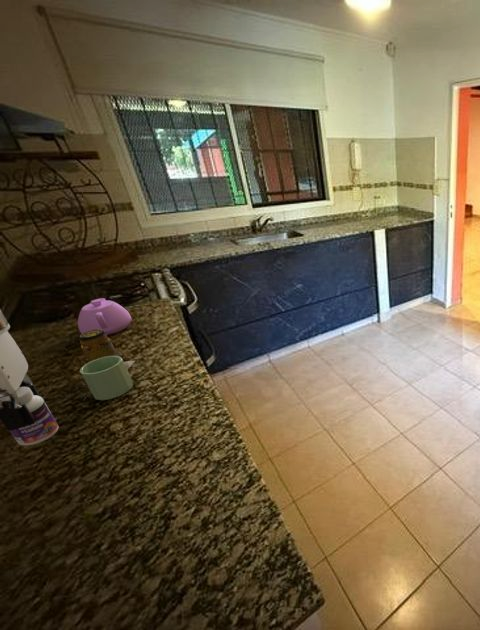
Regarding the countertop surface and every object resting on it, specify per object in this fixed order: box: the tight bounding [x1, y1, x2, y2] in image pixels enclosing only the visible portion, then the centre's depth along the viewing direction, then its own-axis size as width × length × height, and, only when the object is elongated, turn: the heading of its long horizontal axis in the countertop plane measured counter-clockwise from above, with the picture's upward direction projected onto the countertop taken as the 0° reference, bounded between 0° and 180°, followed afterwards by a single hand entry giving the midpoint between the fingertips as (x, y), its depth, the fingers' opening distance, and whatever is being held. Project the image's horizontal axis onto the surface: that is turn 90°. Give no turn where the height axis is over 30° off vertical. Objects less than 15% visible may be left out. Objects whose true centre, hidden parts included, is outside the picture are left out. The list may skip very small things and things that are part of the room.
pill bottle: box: [0, 387, 60, 446], centre depth 61 cm, size 5×5×10 cm
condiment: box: [78, 329, 136, 370], centre depth 94 cm, size 7×8×12 cm
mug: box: [79, 355, 134, 401], centre depth 87 cm, size 8×8×8 cm
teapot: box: [77, 297, 132, 336], centre depth 117 cm, size 14×20×11 cm
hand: (26, 414), depth 61 cm, fingers closed on pill bottle, 5 cm apart
